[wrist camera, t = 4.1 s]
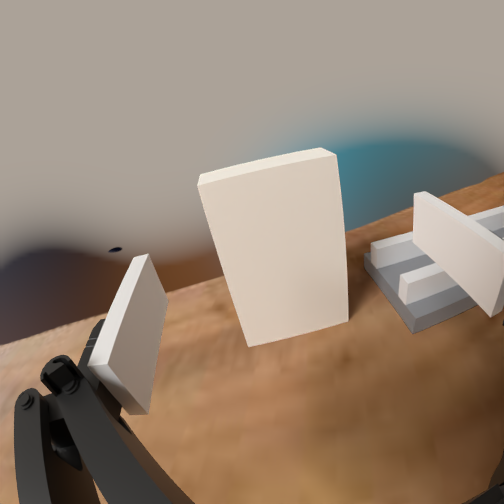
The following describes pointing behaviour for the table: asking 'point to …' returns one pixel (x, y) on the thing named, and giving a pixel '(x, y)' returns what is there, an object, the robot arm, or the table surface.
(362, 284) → the table surface
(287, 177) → the door panel
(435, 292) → the track
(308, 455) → the table surface
